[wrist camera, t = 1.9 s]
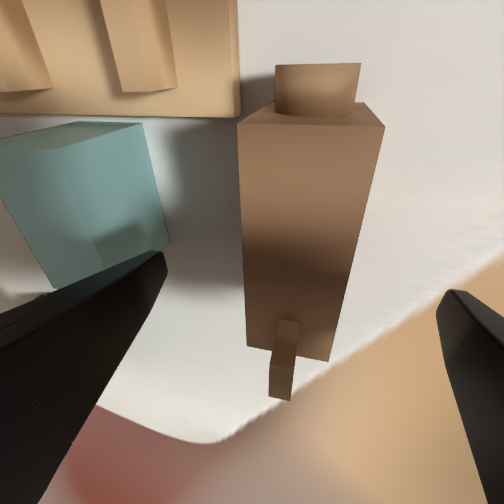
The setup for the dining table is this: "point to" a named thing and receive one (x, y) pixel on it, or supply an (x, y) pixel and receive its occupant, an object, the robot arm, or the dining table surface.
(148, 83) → the jig
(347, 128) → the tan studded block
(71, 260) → the teal block
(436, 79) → the dining table surface
